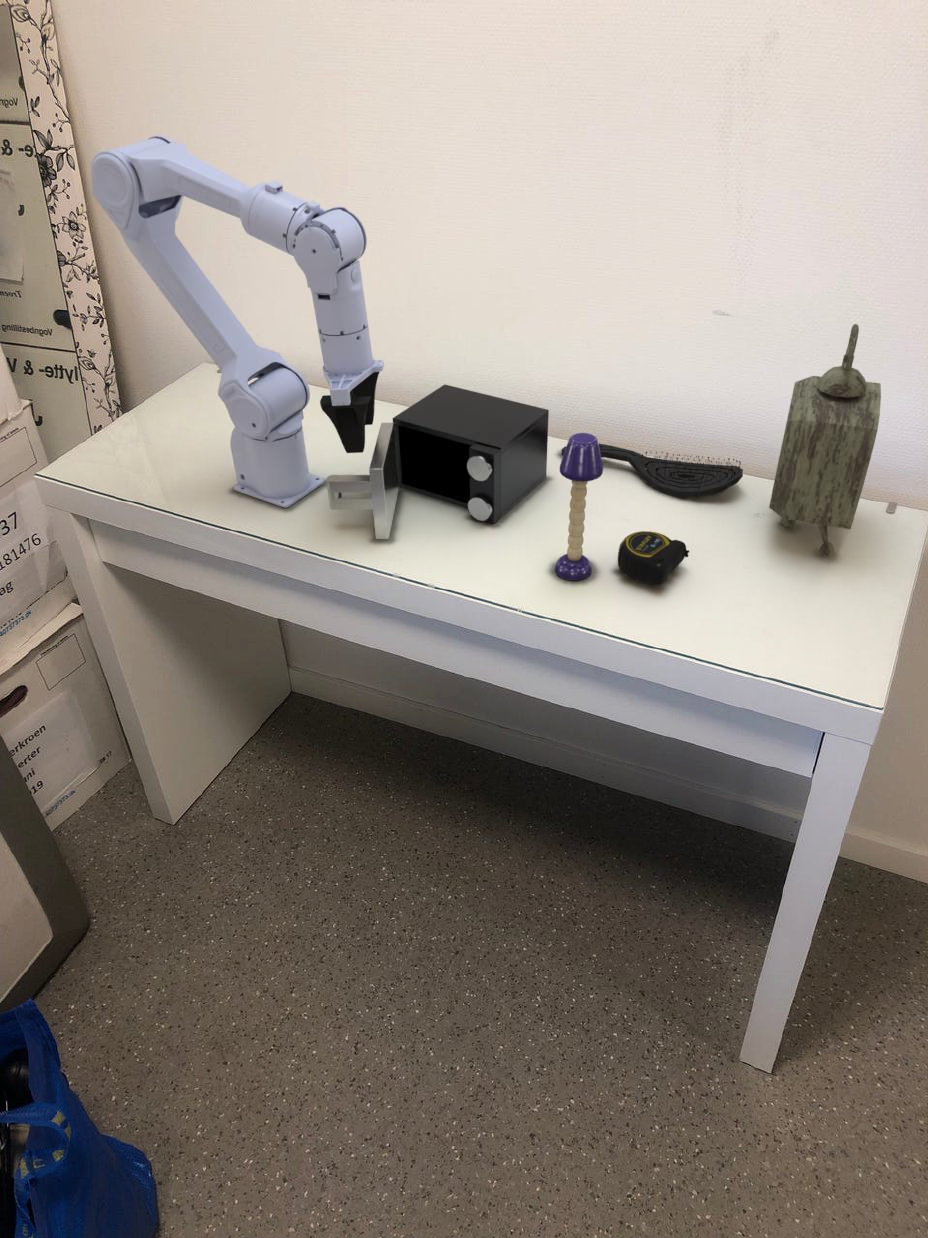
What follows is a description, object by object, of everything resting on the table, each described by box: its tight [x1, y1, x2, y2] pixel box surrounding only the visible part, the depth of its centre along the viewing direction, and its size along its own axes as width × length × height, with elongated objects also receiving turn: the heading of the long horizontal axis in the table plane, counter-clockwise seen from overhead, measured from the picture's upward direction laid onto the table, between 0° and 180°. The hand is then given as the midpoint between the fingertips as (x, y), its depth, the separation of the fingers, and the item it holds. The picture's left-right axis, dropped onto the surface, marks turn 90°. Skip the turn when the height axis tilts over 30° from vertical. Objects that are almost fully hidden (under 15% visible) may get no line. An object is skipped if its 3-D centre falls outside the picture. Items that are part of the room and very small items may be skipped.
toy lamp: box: [554, 432, 604, 581], centre depth 101 cm, size 5×5×17 cm
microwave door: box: [325, 422, 400, 540], centre depth 114 cm, size 7×12×10 cm, turn 177°
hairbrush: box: [561, 442, 744, 498], centre depth 123 cm, size 8×4×25 cm
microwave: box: [392, 383, 550, 525], centre depth 119 cm, size 14×16×10 cm
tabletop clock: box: [768, 323, 882, 557], centre depth 104 cm, size 14×9×25 cm, turn 160°
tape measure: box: [617, 530, 690, 586], centre depth 105 cm, size 7×7×4 cm
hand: (360, 437), depth 112 cm, fingers open, 7 cm apart
